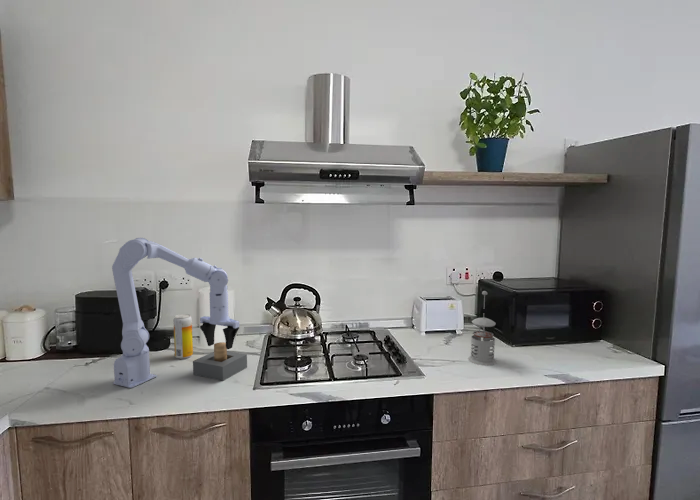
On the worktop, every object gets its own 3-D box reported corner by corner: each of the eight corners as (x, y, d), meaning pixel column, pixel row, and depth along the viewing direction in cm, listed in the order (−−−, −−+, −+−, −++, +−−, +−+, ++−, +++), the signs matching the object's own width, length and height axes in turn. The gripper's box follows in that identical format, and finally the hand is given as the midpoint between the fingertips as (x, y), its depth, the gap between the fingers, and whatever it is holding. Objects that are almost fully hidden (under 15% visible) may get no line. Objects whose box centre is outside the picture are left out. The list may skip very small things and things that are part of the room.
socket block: (223, 380, 127) (222, 366, 127) (193, 374, 132) (192, 361, 131) (247, 367, 138) (246, 354, 138) (218, 361, 143) (218, 349, 142)
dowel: (221, 371, 132) (221, 346, 132) (211, 369, 134) (211, 345, 133) (229, 366, 136) (229, 343, 135) (220, 364, 138) (219, 341, 137)
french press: (468, 363, 142) (470, 292, 140) (467, 352, 153) (469, 286, 151) (498, 366, 140) (501, 294, 137) (494, 354, 151) (497, 288, 149)
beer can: (196, 354, 151) (194, 314, 149) (188, 360, 145) (186, 318, 143) (180, 353, 151) (178, 313, 150) (171, 359, 145) (169, 318, 144)
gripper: (245, 305, 134) (245, 346, 135) (210, 301, 139) (211, 340, 141) (230, 310, 127) (231, 352, 129) (194, 305, 133) (196, 346, 134)
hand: (220, 346), depth 134 cm, fingers open, 7 cm apart
